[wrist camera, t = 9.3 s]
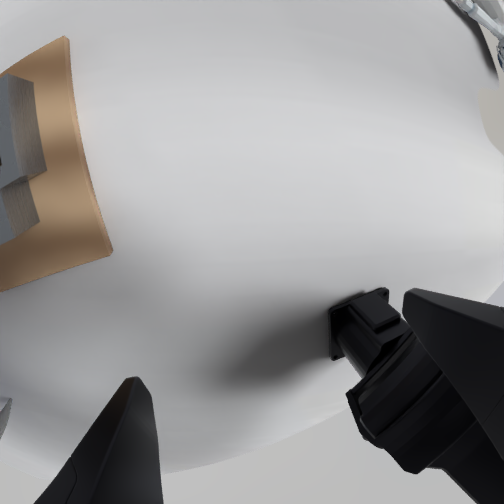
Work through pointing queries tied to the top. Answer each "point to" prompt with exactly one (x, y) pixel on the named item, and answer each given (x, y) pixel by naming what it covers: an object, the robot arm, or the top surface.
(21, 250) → the board
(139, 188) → the top surface
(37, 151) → the link
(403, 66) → the top surface
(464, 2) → the toy
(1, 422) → the toy rocket
